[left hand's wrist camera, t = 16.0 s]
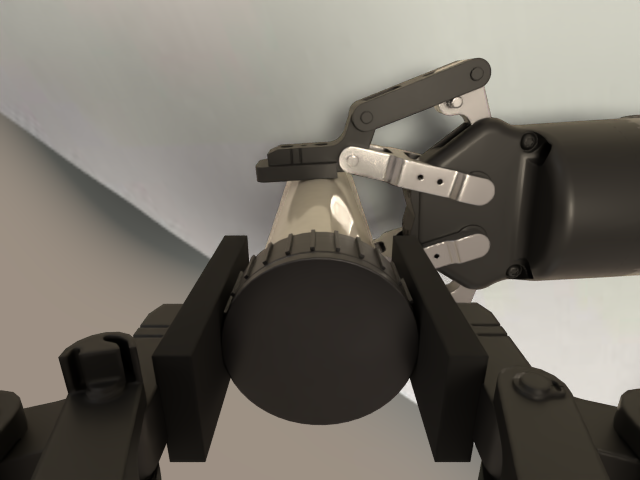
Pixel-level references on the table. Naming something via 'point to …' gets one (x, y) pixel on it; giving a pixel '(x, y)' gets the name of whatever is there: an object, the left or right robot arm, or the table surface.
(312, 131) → the table surface
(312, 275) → the lid
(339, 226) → the jar
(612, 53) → the table surface
